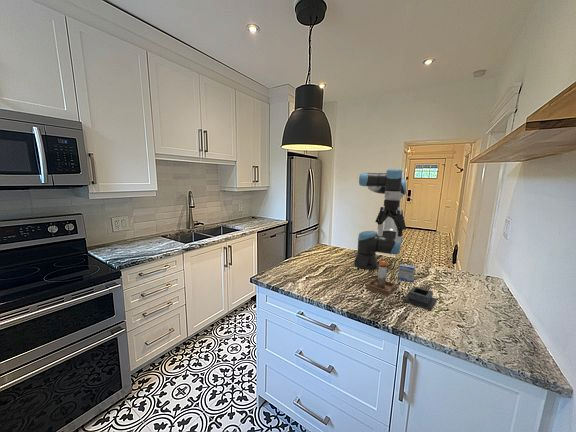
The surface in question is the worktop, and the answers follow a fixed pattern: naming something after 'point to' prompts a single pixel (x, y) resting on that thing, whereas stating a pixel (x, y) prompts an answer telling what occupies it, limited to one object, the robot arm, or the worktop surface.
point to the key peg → (382, 274)
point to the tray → (373, 287)
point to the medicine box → (406, 272)
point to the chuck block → (420, 298)
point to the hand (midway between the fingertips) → (388, 239)
